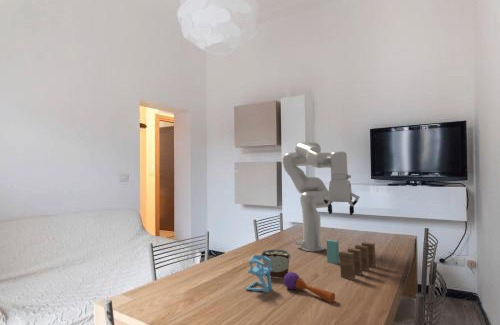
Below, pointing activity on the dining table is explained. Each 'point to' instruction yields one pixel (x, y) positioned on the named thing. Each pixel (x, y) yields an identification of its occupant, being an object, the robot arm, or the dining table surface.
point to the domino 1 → (347, 265)
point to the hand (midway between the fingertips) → (340, 214)
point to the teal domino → (332, 251)
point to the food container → (277, 262)
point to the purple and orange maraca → (297, 283)
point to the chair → (260, 273)
